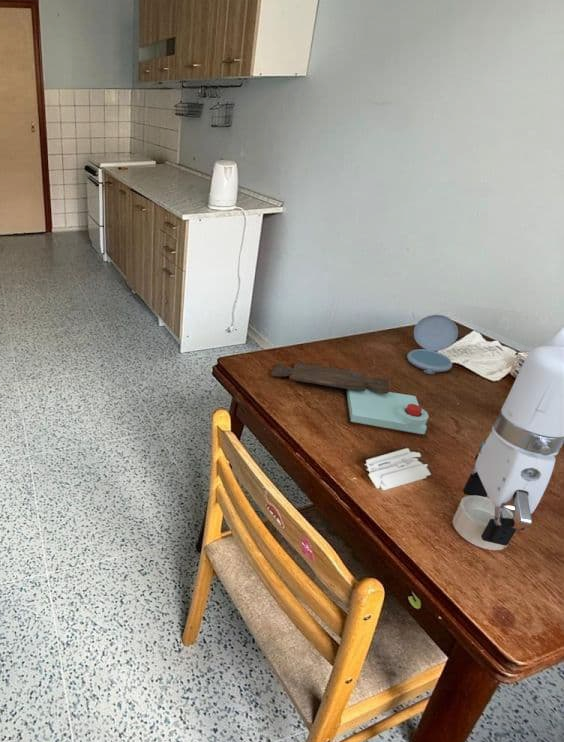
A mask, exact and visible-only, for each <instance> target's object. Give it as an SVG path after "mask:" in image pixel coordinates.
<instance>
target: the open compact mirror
mask: <svg viewBox="0 0 564 742" xmlns="http://www.w3.org/2000/svg"><path fill="white" fill-rule="evenodd" d="M458 335H459V329H458V326H457V323H456V322H455V321H454V320H452V319H451V318H450V317H448V316H446V315H442V314H430V315H427V316H425V317H423V318H420V320H419V321H418V322H417V323H416V324H415V325H414V329H413V338H414V341H415V342H416V344H417V345H419V346H420V347H421V349H420V348H418V349H413V350H411V351H410V352H408V353H407V355H406V358H407V360H408V362H409V363H410V364H411V365H412V366H414V367H416V368H418V369H420V370H423V372H424V373H426V374H429V375H430V374H431V375H435V374H436V373H442V372H443V373H444V372H448V371H449V370H451V369H452V368H453V362H452V360H451V359H450V358H449V357H448V356H446V355H445V354H443V353H442V352H441V353H440V352H439V351H443V350H447V349H448V348H450V347H452V346H453V344H455V342H456V341H457V339H458Z"/></svg>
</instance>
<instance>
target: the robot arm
mask: <svg viewBox="0 0 564 742" xmlns="http://www.w3.org/2000/svg"><path fill="white" fill-rule="evenodd" d="M563 445H564V324H563V325H562V326H561V327H560V328H559V329H558V330H557V331H556V332H555V333H554V334H552V336H551V337H550V339H549V340H547V342H546V344H545V345H542V346H537V347H535V348H534V349H532V350H530V352H529V353H528V354H527V356H526V357H525V358H524V361H523V363H522V365H521V367H520V370H519V372H518V374H517V376H516V378H515V380H514V382H513V384H512V386H511V388H510V391H509V392H508V395H507V396H506V399H505V401H504V403H503V405H502V407H501V409H500V411H499V413H498V415H497V417H496V419H495V421H494V423H493V426H492V428H491V431H490V433H489V434H488V436H487V438H486V440H485V441H480V443H479V446H478V447H479V448H478V452H477V454H476V455H475V457H474V459H475V465H472V467H471V471H470V472H471V473H470V475H469V476H468V478H467V480H466V482H465V485H464V487H463V488H462V492H463V494H464V495H466V496H470V495H478V496H483V497H487V498H489V499H490V500H491V502H492V503H493V504H494V505H495V516H494V519H490V521H489V522H488V524H487V526H486V528H485V530H484V532H483V534H482V535H481V537H482V540H484V541H487V542H492V543H496V544H500V545H504V546H506V545H507V546H509V544H510V542H511V541H512V538H513V537H514V535H515V533H516V532H517V531H524V530H525V529H526V528H527V527H530V526H531V525H532V522H533V521H532V514H533V513H534V512H535V510H536V509H537V507H538V505H539V504H540V502H541V500H542V497H543V496H544V493H545V491H546V489H547V487H548V485H549V482H550V481H551V477H552V474H553V471H554V468H555V463H556V459H557V458H556V456H557V455H558V454H559V452H560V450H561V449H562V447H563ZM509 501H511V502H513V505H511V504H507V503H508V502H509ZM504 508H505V509H509V510H510V511H512V513H513V518H512V519H511V518H503V509H504ZM508 543H509V544H508Z"/></svg>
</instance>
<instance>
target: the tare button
mask: <svg viewBox="0 0 564 742" xmlns="http://www.w3.org/2000/svg"><path fill="white" fill-rule="evenodd" d="M422 409H423V407H422V406H420V405H419V406H418V405H415V404H409V405H408V406H407V409H406V413H407V414H409V415H411V416H415V417H419V416H420V414H421V411H422Z"/></svg>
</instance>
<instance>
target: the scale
mask: <svg viewBox="0 0 564 742" xmlns="http://www.w3.org/2000/svg"><path fill="white" fill-rule="evenodd" d="M346 398H347V406H348V412H349V419H350V422H352V423H358V424H362V425H369V426H374V427H379V428H386V429H390V430H397V431H402V432H408V433H413V434H419V435H426V431H427V423H428V420H429V416H430V415H429V413H428V412H427V411H426V410H425V409H423V408H422V411H421V414H420V416H419V417H415V416H411V415H409V414H407V413H406V409H407V406H408V405H409V404H415V405H418V406H420V404H419V401H418V399H417V396H416V395H413V394H412V395H410V394H404V393H400V392H399V393H398V392H393V391H388V393H386V394H382V393H377V392H374V391H372V390H370V389H368V388H366V387H365V391H357V390H350V389H346Z"/></svg>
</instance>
